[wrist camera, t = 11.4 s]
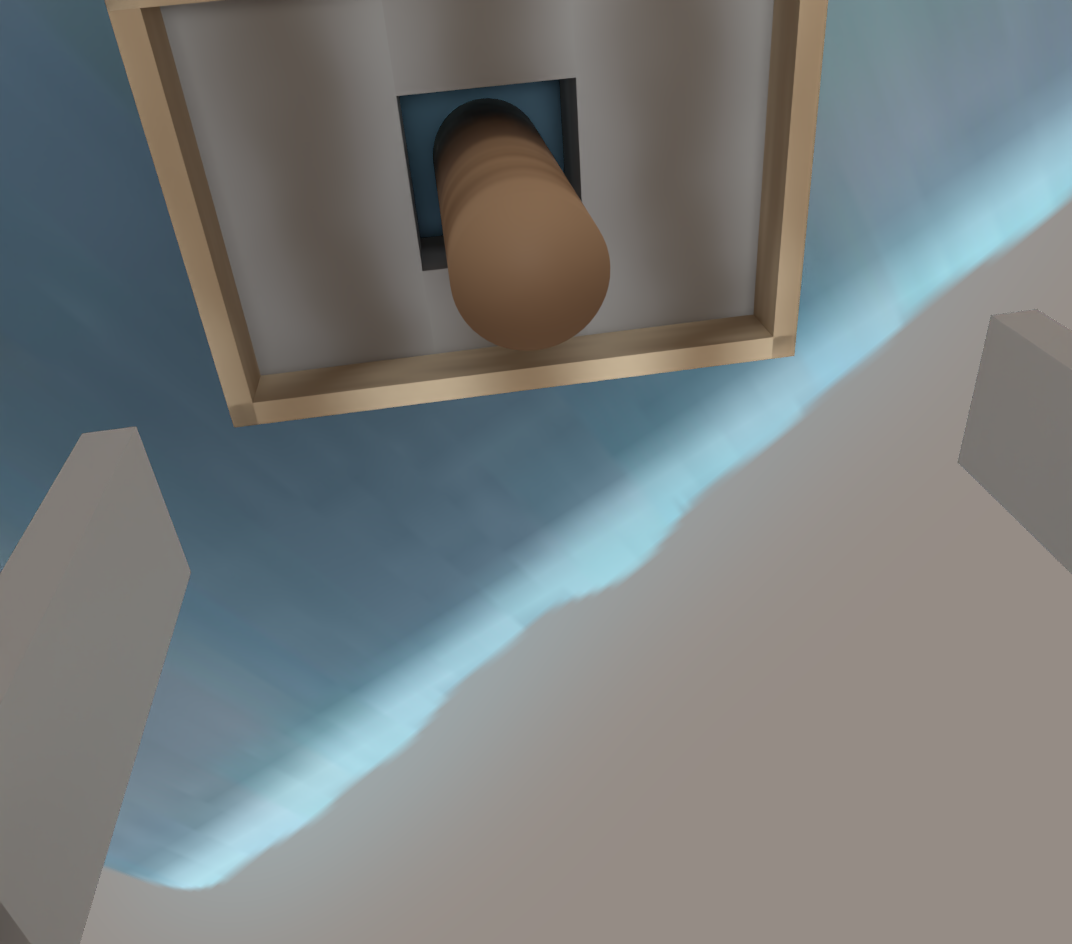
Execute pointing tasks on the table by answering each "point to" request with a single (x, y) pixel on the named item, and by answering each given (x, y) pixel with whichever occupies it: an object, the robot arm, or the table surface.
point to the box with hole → (420, 263)
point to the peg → (515, 231)
